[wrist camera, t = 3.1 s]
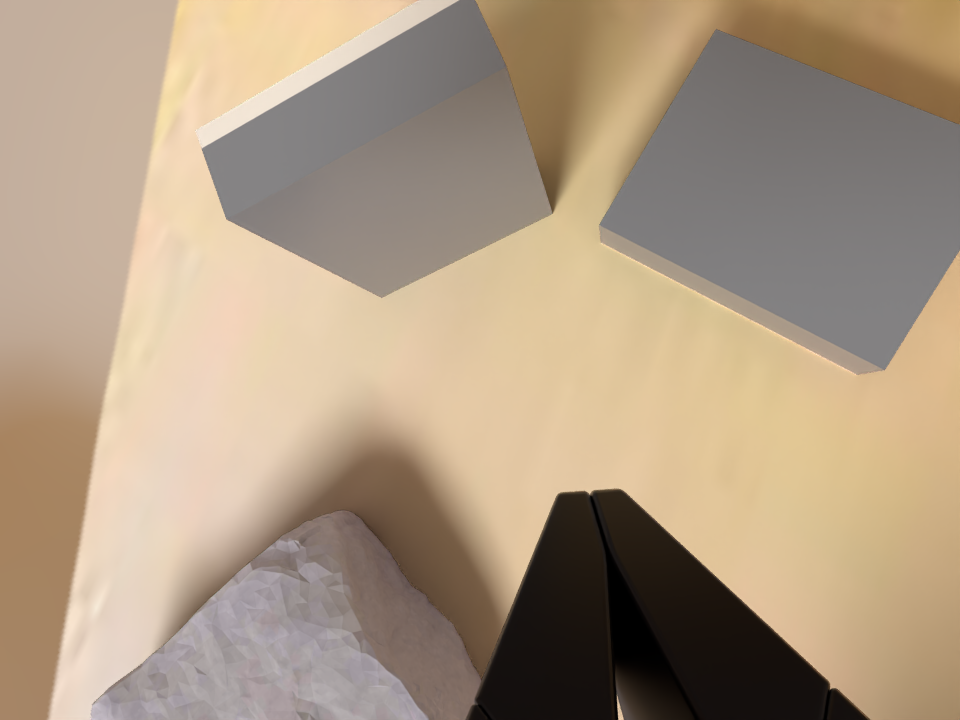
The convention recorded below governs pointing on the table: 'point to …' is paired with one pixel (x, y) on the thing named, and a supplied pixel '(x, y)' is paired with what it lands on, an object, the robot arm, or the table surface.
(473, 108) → the tile
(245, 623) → the stone block
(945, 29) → the table surface
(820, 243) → the twin tile
